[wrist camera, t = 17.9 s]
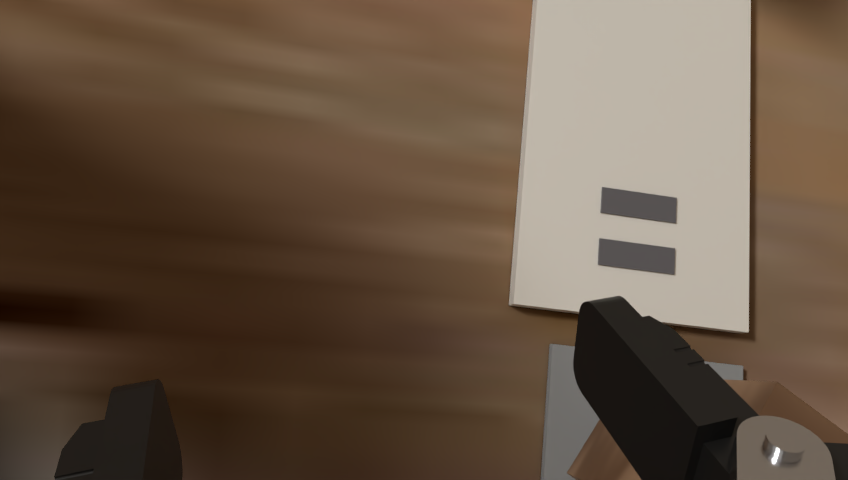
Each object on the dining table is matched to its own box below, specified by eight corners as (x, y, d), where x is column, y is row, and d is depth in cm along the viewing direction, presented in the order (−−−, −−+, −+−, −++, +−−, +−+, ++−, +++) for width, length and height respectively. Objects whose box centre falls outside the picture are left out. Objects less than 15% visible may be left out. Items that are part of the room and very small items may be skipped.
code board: (508, 305, 29) (514, 303, 28) (545, -155, 34) (550, -169, 33) (737, 333, 30) (750, 332, 29) (742, -115, 35) (752, -127, 34)
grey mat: (535, 561, 27) (538, 563, 27) (549, 344, 29) (552, 343, 29) (735, 576, 28) (741, 579, 28) (737, 365, 30) (742, 366, 30)
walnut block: (661, 543, 28) (840, 641, 18) (566, 473, 28) (694, 532, 18) (717, 442, 29) (914, 483, 19) (626, 375, 29) (777, 381, 19)
